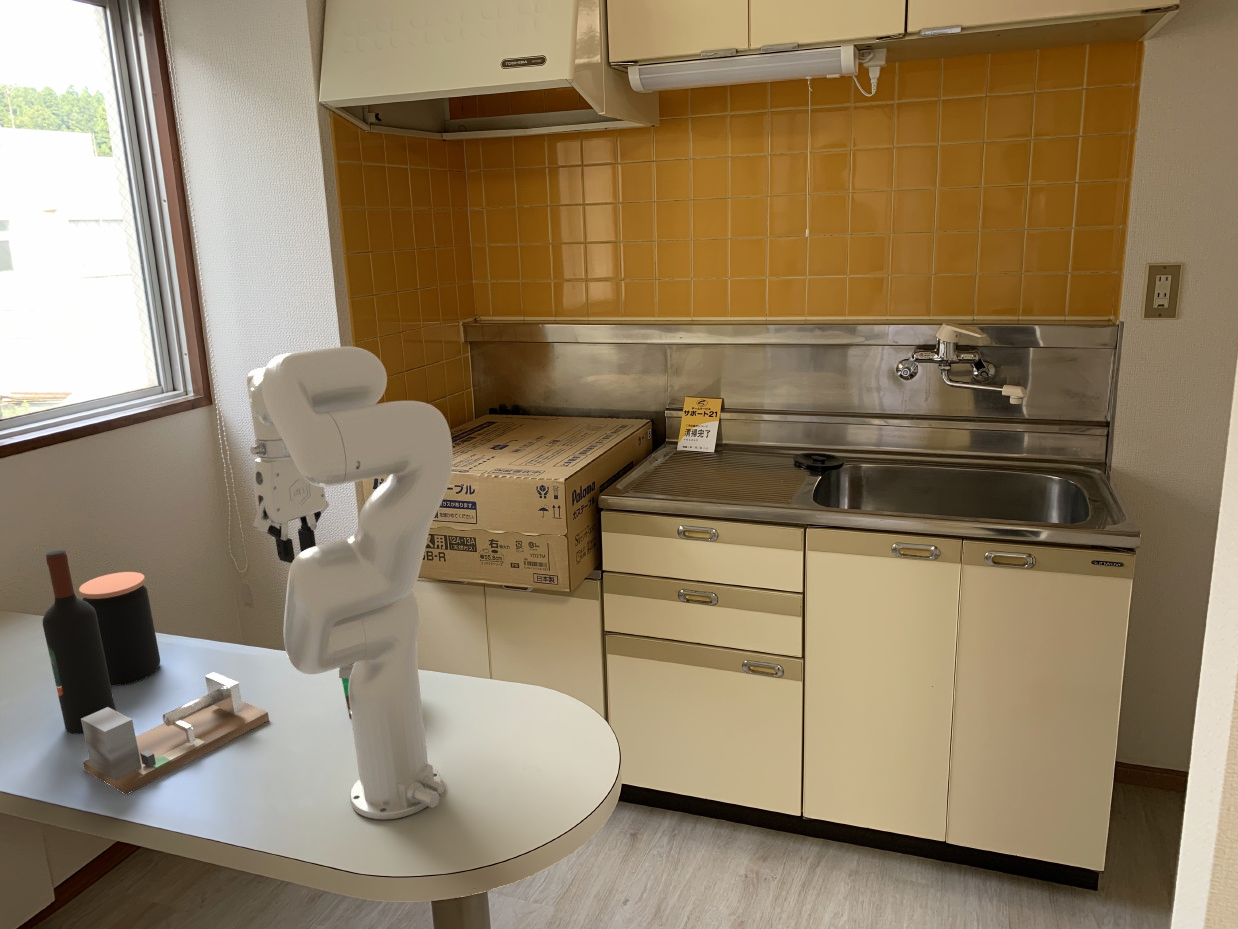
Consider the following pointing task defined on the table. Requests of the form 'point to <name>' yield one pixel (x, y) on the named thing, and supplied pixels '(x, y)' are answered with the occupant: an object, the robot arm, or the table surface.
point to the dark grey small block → (148, 758)
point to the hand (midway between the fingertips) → (297, 556)
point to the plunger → (207, 703)
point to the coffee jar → (124, 625)
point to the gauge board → (157, 743)
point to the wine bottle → (75, 649)
